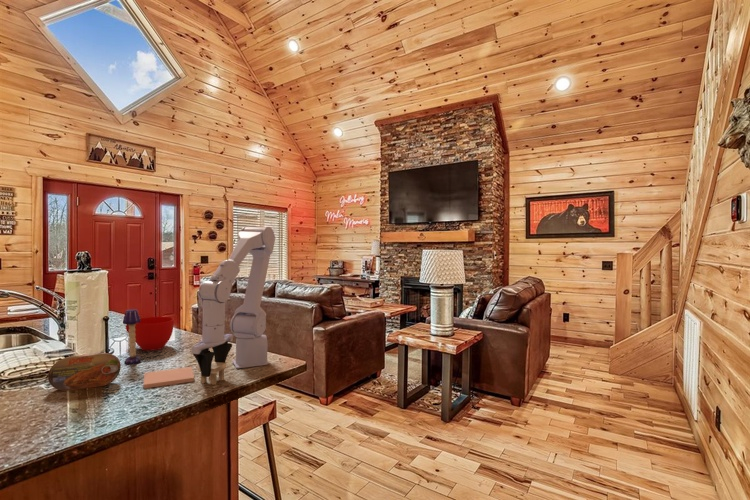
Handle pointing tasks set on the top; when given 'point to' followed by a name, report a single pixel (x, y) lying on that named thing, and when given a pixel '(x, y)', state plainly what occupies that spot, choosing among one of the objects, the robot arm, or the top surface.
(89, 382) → the tin
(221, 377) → the toy stool
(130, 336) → the toy lamp
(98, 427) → the top surface
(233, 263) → the robot arm
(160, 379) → the mat
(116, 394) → the top surface
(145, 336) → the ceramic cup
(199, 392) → the top surface
